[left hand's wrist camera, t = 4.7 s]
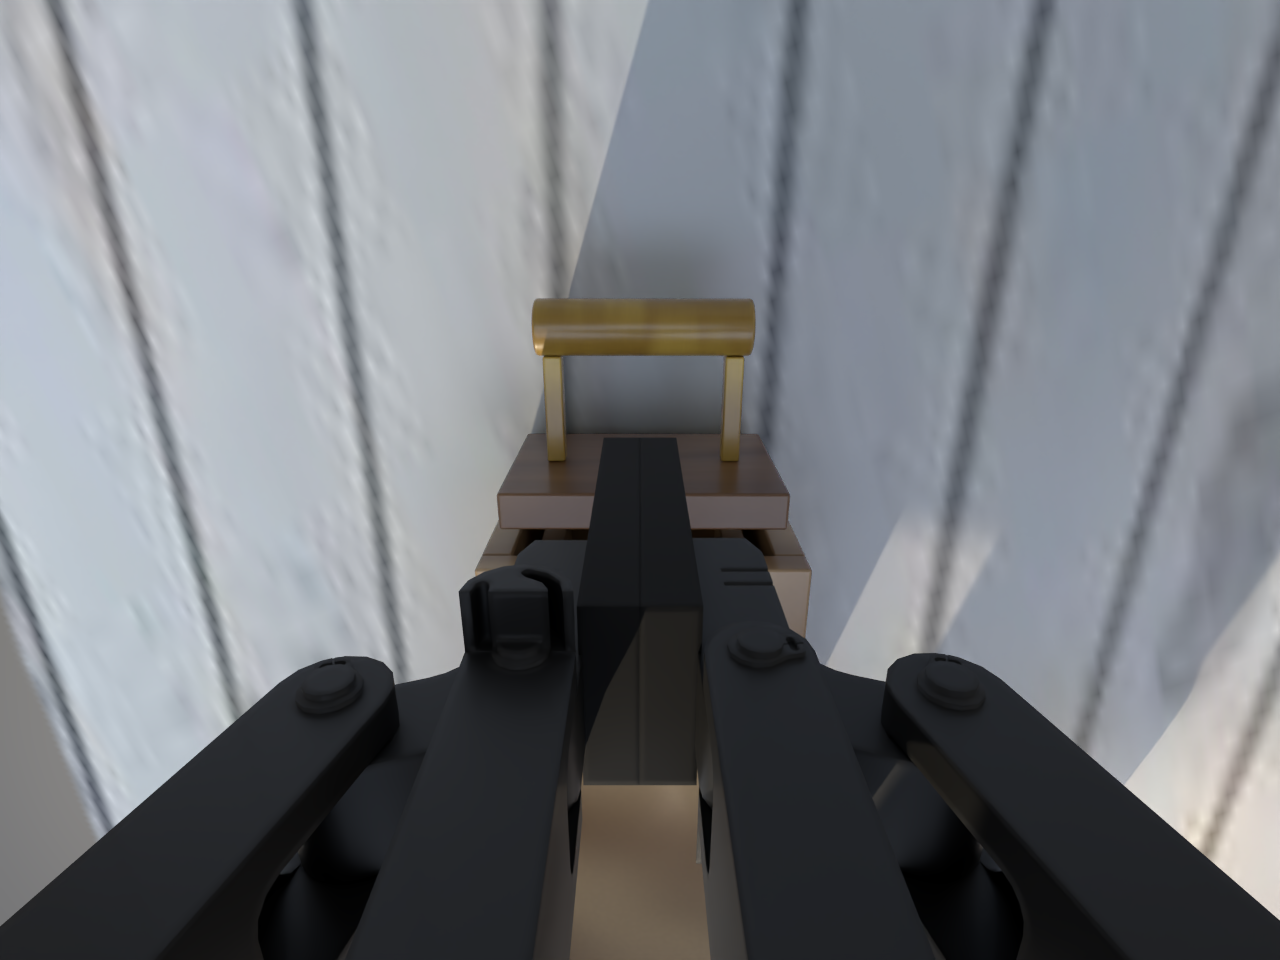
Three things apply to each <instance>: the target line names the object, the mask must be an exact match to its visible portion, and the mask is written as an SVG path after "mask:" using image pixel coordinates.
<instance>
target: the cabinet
mask: <svg viewBox="0 0 1280 960" xmlns="http://www.w3.org/2000/svg"><path fill="white" fill-rule="evenodd" d="M544 531H545V529H500V527H499V520H498V523H497V525H496V527H495V529H494V531H493V533H492V535H491V537H490V540H489V542H488V544H487V546H486V548H485V550H484V552H483V555H482V557H481V559H480V561H479V563H478V565H477V567H476V570H475V576H477V575H479V574H481V573H483V572H485V571H489V570H492V569H496V568H499V567H503V566H512V565H514V564H515V561H516V559H517V556H518V554H519V553H520V552H521V551H523V550H524V549H525V548H526V547H528V546H529V545H530V544H531V543H532V542H534V541H535V540H542V537H543V534H544ZM742 533H743V536H744V538H746V539H747V540H748V541H749V542H750V543H752V544H753V545H754V546H755V547H757V548H758V549H759V550H760V551H762V553H763V556H764V559H765V561H766V564H767V567H768V572H769V573H770V575H771V578H772V581H773V586H775V589H776V592H777V595H778V598H779V600H780V603H781V606H782V609H783V612H784V614H785V617H786V620H787V623H788V626H789V628H790V629H791V630H793V631H794V632H796V633H797V634H799V635H801V636H802V637H804V638H805V634H806V624H807V614H808V604H809V594H810V584H811V574H812V571H811V568H810V566H809V564H808V562H807V560H806V558H805V555H804V553H803V551H802V548H801V546H800V544H799V542H798V540H797V538H796V536H795V534H794V532H793V529H792V527H791V525H790V523H789V521H788V527H787V529H785V530H742ZM581 797H582V828H581V839H580V850H579V861H578V872H577V883H576V894H575V905H574V916H573V927H572V938H571V949H570V960H711V958H710V948H709V937H708V926H707V915H706V904H705V893H704V882H703V871H702V864H696V848H697V822H698V797H699V781H698V771H697V785H583V775H582V784H581Z"/></svg>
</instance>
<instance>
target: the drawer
mask: <svg viewBox="0 0 1280 960" xmlns="http://www.w3.org/2000/svg"><path fill="white" fill-rule="evenodd" d="M532 338H533V345H534V350H535V352H536V354H537V355H539V356H544V357H543V376H544V396H545V415H546V434H528V436H527V438H526V439H525V441H524V443H523V445H522V447H521V449H520V451H519V453H518V455H517V457H516V459H515V461H514V463H513V465H512V467H511V469H510V470H509V472H508V474H507V476H506V478H505V480H504V482H503V484H502V486H501V488H500V490H499V492H498V494H497V504H498V516H499V527H500V529H545V531H544V534H543V537H542V540H587V538H588V532H589V526H590V520H591V514H592V507H593V501H594V495H595V489H596V482H597V476H598V470H599V464H600V457H601V451H602V445H603V439H604V438H676V439H677V445H678V451H679V457H680V464H681V470H682V476H683V482H684V489H685V495H686V501H687V507H688V514H689V520H690V526H691V532H692V538H744V536H743V533H742V530H785V529H787V527H788V515H789V503H790V494H789V492H788V490H787V488H786V487H785V485H784V483H783V481H782V479H781V477H780V475H779V473H778V471H777V469H776V467H775V465H774V464H773V462H772V460H771V458H770V456H769V454H768V452H767V450H766V448H765V446H764V444H763V442H762V441H761V439H760V437H759V435H758V434H740V430H741V412H742V394H743V375H744V357H743V356H749V355H750V354H751V353H752V350H753V346H754V339H755V307H754V303H753V300H752V299H535V301H534V303H533V308H532ZM563 356H724V365H723V388H722V411H721V434H566V418H565V393H564V368H563Z"/></svg>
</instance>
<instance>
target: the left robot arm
mask: <svg viewBox="0 0 1280 960" xmlns="http://www.w3.org/2000/svg"><path fill="white" fill-rule="evenodd" d="M459 599H460V608H461V617H462V627H463V636H464V645H465V654H464V656H463V659H462V661H461V664H460V667H458V668H456V669H454V670H451V671H449V672H447V673H444V674H441V675H437V676H433V677H430V678H426V679H421V680H416V681H411V682H406V683H401V684H397V685H395V684H394V678H393V672H392V671H391V670H390V669H389V668H388V667H387V666H386V665H385V664H384V663H383V662H381V661H378V660H375V659H372V658H369V657H355V656H344V657H337V658H334V659H332V658H331V659H327V660H323V661H320V662H317V663H315V664H312V665H310V666H307V667H305V668H302V669H300V670H298V671H296V672H295V673H293V674H292V675H290V676H289V677H287V678H286V679H284V680H283V681H281V682H280V683H279V684H278V685H276V686H275V687H274V688H273V689H272V690H271V691H270V692H268V693H267V694H266V695H265V696H264V697H263V698H262V699H260V700H259V701H258V702H257V703H256V704H255V705H253V706H252V707H251V708H250V709H249V710H248V711H247V712H245V713H244V714H243V715H242V716H241V717H240V718H239V719H237V720H236V721H235V722H234V723H233V724H232V725H231V726H229V727H228V728H227V729H226V730H225V731H224V732H223V733H221V734H220V735H219V736H218V737H217V738H216V739H215V740H213V741H212V742H211V743H210V744H209V745H208V746H207V747H205V748H204V749H203V750H202V751H201V752H200V753H198V754H197V755H196V756H195V757H194V758H193V759H192V760H190V761H189V762H188V763H187V764H186V765H185V766H184V767H182V768H181V769H180V770H179V771H178V772H177V773H176V774H174V775H173V776H172V777H171V778H170V779H169V780H168V781H166V782H165V783H164V784H163V785H162V786H161V787H160V788H158V789H157V790H156V791H155V792H154V793H153V794H152V795H150V796H149V797H148V798H147V799H146V800H145V801H143V802H142V803H141V804H140V805H139V806H138V807H137V808H135V809H134V810H133V811H132V812H131V813H130V814H129V815H127V816H126V817H125V818H124V819H123V820H122V821H121V822H119V823H118V824H117V825H116V826H115V827H114V828H113V829H111V830H110V831H109V832H108V833H107V834H106V835H105V836H103V837H102V838H101V839H100V840H99V841H98V842H97V843H95V844H94V845H93V846H92V847H91V848H90V849H88V850H87V851H86V852H85V853H84V854H83V855H82V856H81V857H79V858H78V859H77V860H76V861H75V862H74V863H72V864H71V865H70V866H69V867H68V868H67V869H66V870H64V871H63V872H62V873H61V874H60V875H59V876H58V877H56V878H55V879H54V880H53V881H52V882H51V883H50V884H48V885H47V886H46V887H45V888H44V889H43V890H42V891H40V892H39V893H38V894H37V895H36V896H35V897H34V898H32V899H31V900H30V901H29V902H28V903H27V904H26V905H24V906H23V907H22V908H21V909H20V910H19V911H17V912H16V913H15V914H14V915H13V916H12V917H11V918H9V919H8V920H7V921H6V922H5V923H4V924H3V925H1V926H0V960H570V949H571V938H572V927H573V916H574V905H575V894H576V883H577V872H578V861H579V850H580V839H581V828H582V797H581V784H582V775H583V785H697V771H698V781H699V797H698V822H697V848H696V864H702V871H703V882H704V893H705V904H706V915H707V926H708V937H709V948H710V958H711V960H1280V920H1278V919H1277V918H1276V917H1275V916H1274V915H1273V914H1272V913H1270V912H1269V911H1268V910H1267V909H1266V908H1265V907H1263V906H1262V905H1261V904H1260V903H1259V902H1258V901H1257V900H1255V899H1254V898H1253V897H1252V896H1251V895H1250V894H1248V893H1247V892H1246V891H1245V890H1244V889H1243V888H1242V887H1240V886H1239V885H1238V884H1237V883H1236V882H1235V881H1233V880H1232V879H1231V878H1230V877H1229V876H1228V875H1226V874H1225V873H1224V872H1223V871H1222V870H1221V869H1220V868H1218V867H1217V866H1216V865H1215V864H1214V863H1213V862H1211V861H1210V860H1209V859H1208V858H1207V857H1206V856H1205V855H1203V854H1202V853H1201V852H1200V851H1199V850H1198V849H1196V848H1195V847H1194V846H1193V845H1192V844H1191V843H1190V842H1188V841H1187V840H1186V839H1185V838H1184V837H1183V836H1181V835H1180V834H1179V833H1178V832H1177V831H1176V830H1174V829H1173V828H1172V827H1171V826H1170V825H1169V824H1168V823H1166V822H1165V821H1164V820H1163V819H1162V818H1161V817H1159V816H1158V815H1157V814H1156V813H1155V812H1154V811H1153V810H1151V809H1150V808H1149V807H1148V806H1147V805H1146V804H1144V803H1143V802H1142V801H1141V800H1140V799H1139V798H1138V797H1136V796H1135V795H1134V794H1133V793H1132V792H1131V791H1129V790H1128V789H1127V788H1126V787H1125V786H1124V785H1123V784H1121V783H1120V782H1119V781H1118V780H1117V779H1116V778H1114V777H1113V776H1112V775H1111V774H1110V773H1109V772H1107V771H1106V770H1105V769H1104V768H1103V767H1102V766H1101V765H1099V764H1098V763H1097V762H1096V761H1095V760H1094V759H1092V758H1091V757H1090V756H1089V755H1088V754H1087V753H1086V752H1084V751H1083V750H1082V749H1081V748H1080V747H1079V746H1077V745H1076V744H1075V743H1074V742H1073V741H1072V740H1071V739H1069V738H1068V737H1067V736H1066V735H1065V734H1064V733H1062V732H1061V731H1060V730H1059V729H1058V728H1057V727H1055V726H1054V725H1053V724H1052V723H1051V722H1050V721H1049V720H1047V719H1046V718H1045V717H1044V716H1043V715H1042V714H1040V713H1039V712H1038V711H1037V710H1036V709H1035V708H1034V707H1032V706H1031V705H1030V704H1029V703H1028V702H1027V701H1025V700H1024V699H1023V698H1022V697H1021V696H1020V695H1019V694H1017V693H1016V692H1015V691H1014V690H1013V689H1012V688H1010V687H1009V686H1008V685H1007V684H1006V683H1005V682H1003V681H1002V680H1001V679H1000V678H998V677H997V676H995V675H994V674H992V673H991V672H989V671H988V670H986V669H985V668H983V667H981V666H979V665H976V664H974V663H971V662H969V661H966V660H964V659H961V658H959V657H955V656H951V655H945V654H937V653H921V654H911V655H908V656H905V657H902V658H899V659H897V660H896V661H895V662H894V663H893V664H892V665H891V666H890V667H889V668H888V671H887V678H886V682H884V681H879V680H874V679H869V678H864V677H859V676H854V675H850V674H847V673H843V672H839V671H836V670H833V669H831V668H829V667H826V666H824V665H822V664H820V663H819V660H818V658H817V655H816V653H815V651H814V649H813V648H812V647H811V645H810V644H809V642H808V641H807V640H806V639H805V638H804V637H802V636H801V635H799V634H797V633H796V632H794V631H793V630H791V629H790V628H789V626H788V623H787V620H786V617H785V614H784V612H783V609H782V606H781V603H780V600H779V598H778V595H777V592H776V589H775V586H773V581H772V578H771V575H770V573H769V572H768V567H767V564H766V561H765V559H764V556H763V553H762V551H760V550H759V549H758V548H757V547H755V546H754V545H753V544H752V543H750V542H749V541H748V540H747V539H746V538H692V532H691V526H690V520H689V514H688V507H687V501H686V495H685V489H684V482H683V476H682V470H681V464H680V457H679V451H678V445H677V439H676V438H604V439H603V445H602V451H601V457H600V464H599V470H598V476H597V482H596V489H595V495H594V501H593V507H592V514H591V520H590V526H589V532H588V538H587V540H535V541H534V542H532V543H531V544H530V545H529V546H528V547H526V548H525V549H524V550H523V551H521V552H520V553H519V554H518V556H517V559H516V561H515V564H514V565H512V566H503V567H499V568H496V569H492V570H489V571H485V572H483V573H481V574H479V575H477V576H476V577H474V578H472V579H470V580H468V581H467V583H466V584H465V585H464V586H463V587H462V588H461V589H460V591H459Z"/></svg>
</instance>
